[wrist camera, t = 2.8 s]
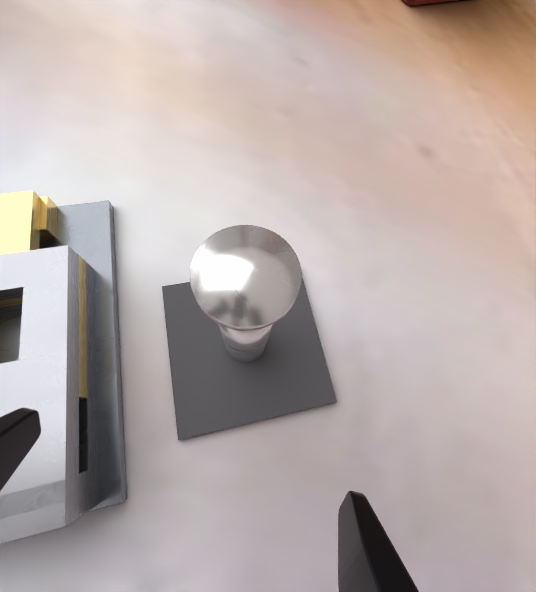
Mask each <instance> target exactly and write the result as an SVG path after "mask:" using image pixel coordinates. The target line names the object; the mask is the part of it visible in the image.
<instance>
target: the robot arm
mask: <svg viewBox="0 0 536 592" xmlns="http://www.w3.org/2000/svg"><path fill="white" fill-rule="evenodd" d="M40 434H41V424H40V417H39V413H38V411H36V410H33V409H29V408H19V409H17V410H15V411H12V412H10V413H8V414H6V415H3V416H1V417H0V491H1V490H2V489H3V487H4V486H5V484H6V483H7V482H8V480H9V479H10V478H11V476H12V475H13V473H14V472H15V471H16V469H17V468H18V466H19V465H20V464H21V462H22V461H23V459H24V458H25V457H26V455H27V454H28V453H29V451H30V450H31V448H32V447H33V446H34V444H35V443H36V441H37V440H38V438H39V436H40ZM338 585H339V592H419V591H418V589H417V587H416V586H415V584H414V582H413V580H412V578H411V577H410V575H409V573H408V571H407V569H406V568H405V566H404V564H403V562H402V561H401V559H400V557H399V555H398V553H397V552H396V550H395V548H394V546H393V544H392V543H391V541H390V539H389V537H388V536H387V534H386V532H385V530H384V528H383V527H382V525H381V523H380V521H379V519H378V518H377V516H376V514H375V512H374V511H373V509H372V507H371V505H370V503H369V502H368V500H367V498H366V497H365V495H363V494H362V493H358V492H354V491H349V492H348V493H347V495H346V497H345V499H344V501H343V502H342V504H341V506H340V509H339V515H338Z"/></svg>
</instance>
